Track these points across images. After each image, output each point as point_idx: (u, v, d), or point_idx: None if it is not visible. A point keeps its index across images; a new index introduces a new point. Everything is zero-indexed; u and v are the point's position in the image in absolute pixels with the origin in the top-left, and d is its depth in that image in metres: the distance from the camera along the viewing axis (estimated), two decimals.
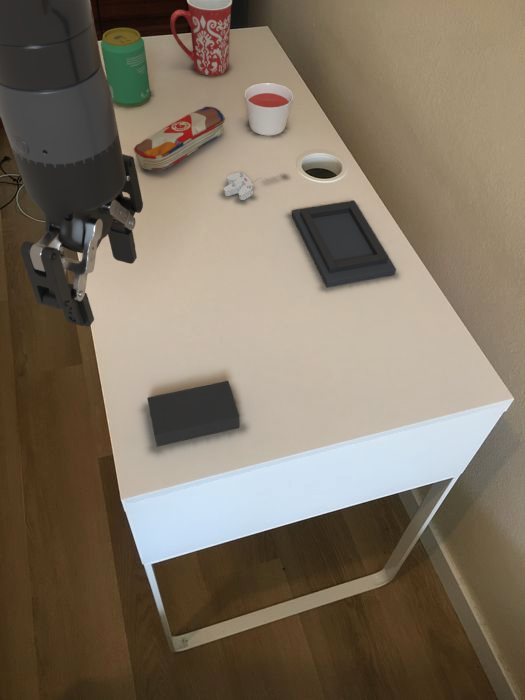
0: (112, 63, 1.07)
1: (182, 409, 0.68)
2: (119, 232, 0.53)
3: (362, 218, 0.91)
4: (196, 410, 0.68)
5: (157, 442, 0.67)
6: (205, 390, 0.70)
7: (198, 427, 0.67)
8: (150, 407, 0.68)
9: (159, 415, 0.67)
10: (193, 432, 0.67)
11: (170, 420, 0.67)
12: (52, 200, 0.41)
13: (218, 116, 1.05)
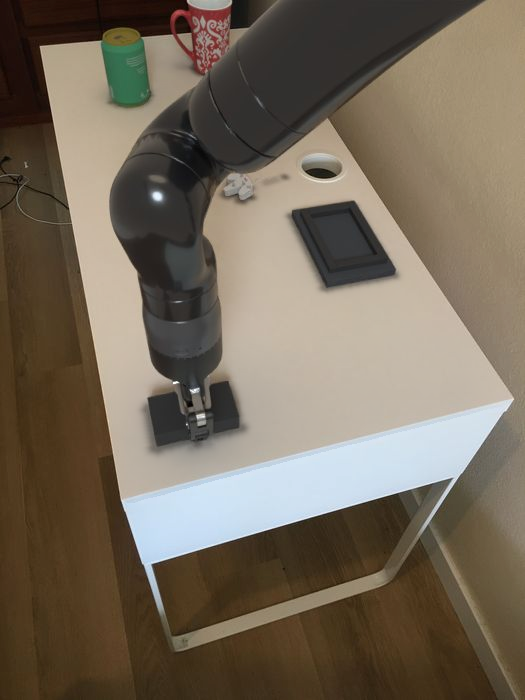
0: (112, 63, 1.07)
1: None
2: None
3: (362, 218, 0.91)
4: None
5: (157, 442, 0.67)
6: None
7: None
8: (150, 407, 0.68)
9: (159, 415, 0.67)
10: None
11: (170, 420, 0.67)
12: (197, 374, 0.57)
13: None
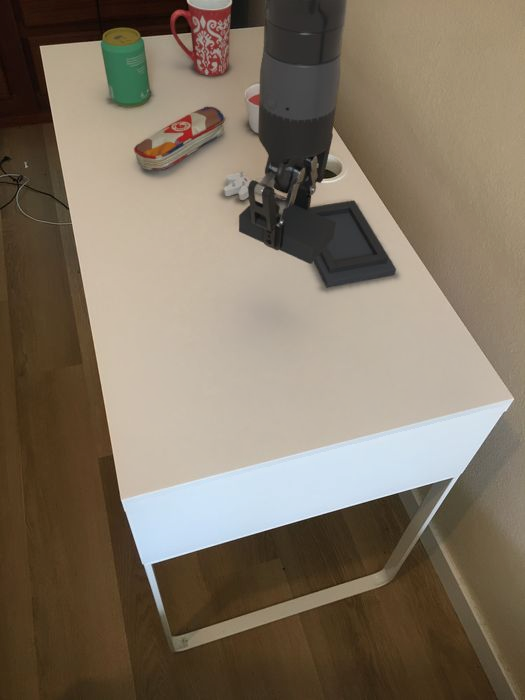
0: (112, 63, 1.07)
1: None
2: (301, 195, 0.67)
3: (362, 218, 0.91)
4: (287, 221, 0.67)
5: (239, 226, 0.68)
6: (310, 216, 0.67)
7: None
8: None
9: None
10: None
11: None
12: (279, 146, 0.56)
13: (218, 116, 1.05)
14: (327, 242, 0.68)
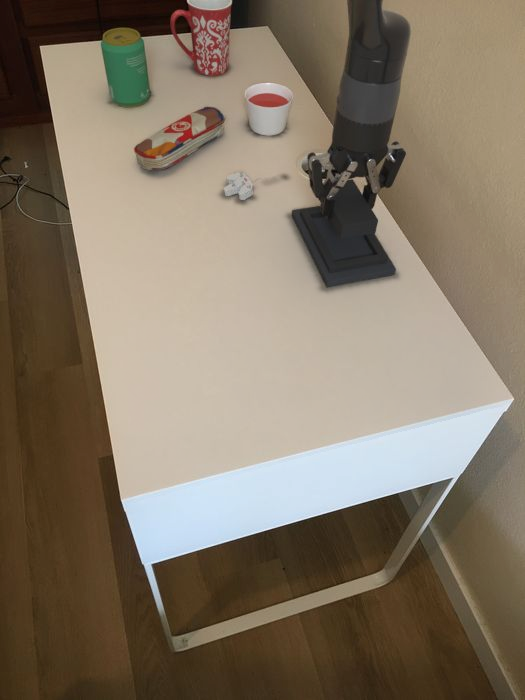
0: (112, 63, 1.07)
1: (345, 196, 0.85)
2: (367, 190, 0.83)
3: None
4: (345, 203, 0.84)
5: None
6: (365, 207, 0.83)
7: None
8: None
9: None
10: None
11: None
12: (336, 135, 0.74)
13: (218, 116, 1.05)
14: (366, 232, 0.83)
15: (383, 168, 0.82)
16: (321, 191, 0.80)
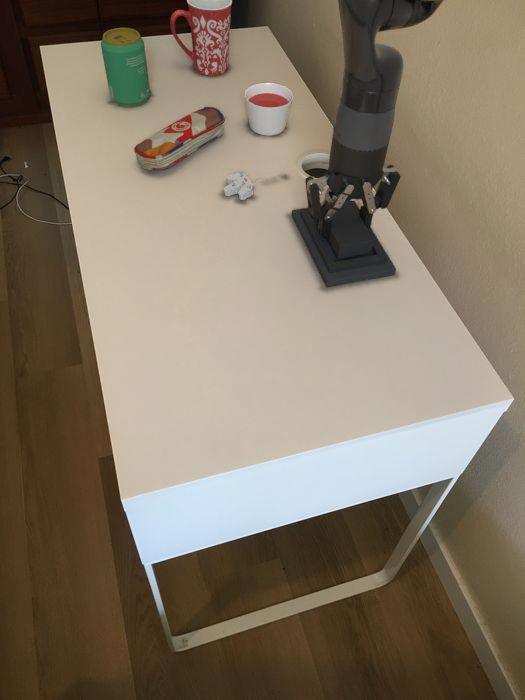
0: (112, 63, 1.07)
1: (342, 216, 0.88)
2: (364, 211, 0.86)
3: None
4: (342, 223, 0.87)
5: None
6: (361, 228, 0.86)
7: None
8: None
9: None
10: None
11: None
12: (333, 160, 0.77)
13: (218, 116, 1.05)
14: (363, 252, 0.86)
15: (379, 190, 0.85)
16: (319, 213, 0.83)
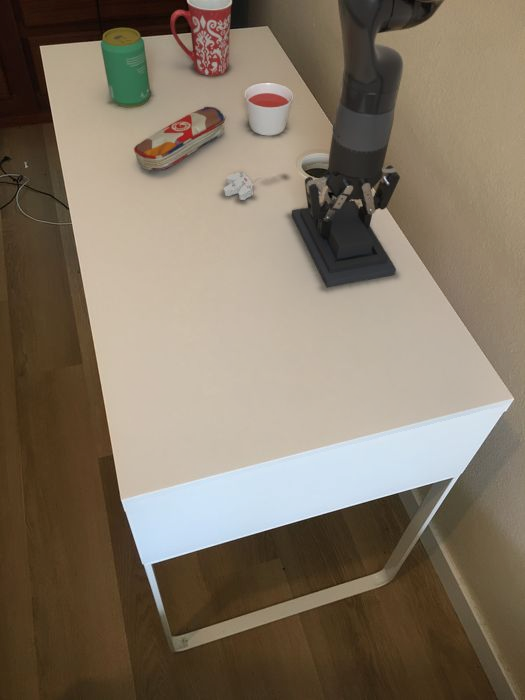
0: (112, 63, 1.07)
1: (341, 216, 0.88)
2: (363, 211, 0.86)
3: None
4: (341, 223, 0.87)
5: None
6: (361, 228, 0.86)
7: None
8: None
9: None
10: None
11: None
12: (332, 161, 0.77)
13: (218, 116, 1.05)
14: (362, 252, 0.86)
15: (378, 190, 0.85)
16: (318, 213, 0.83)
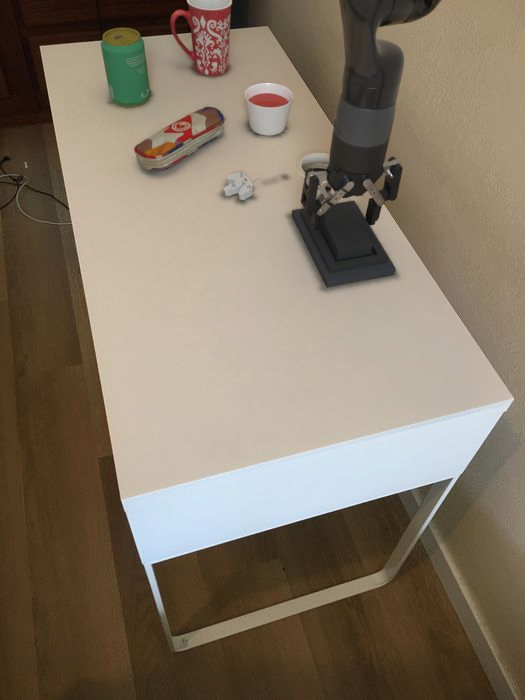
0: (112, 63, 1.07)
1: (341, 220, 0.88)
2: (372, 203, 0.86)
3: (362, 218, 0.91)
4: (341, 227, 0.87)
5: None
6: (360, 232, 0.87)
7: (327, 230, 0.87)
8: (340, 205, 0.91)
9: (333, 209, 0.90)
10: (324, 231, 0.88)
11: (330, 215, 0.89)
12: (333, 157, 0.77)
13: (218, 116, 1.05)
14: (361, 256, 0.87)
15: (385, 182, 0.84)
16: (311, 207, 0.81)
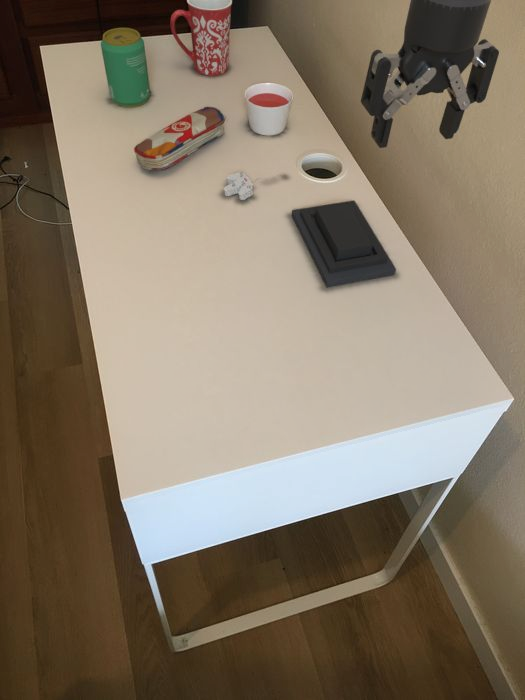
0: (112, 63, 1.07)
1: (341, 220, 0.88)
2: (452, 107, 0.66)
3: (362, 218, 0.91)
4: (341, 227, 0.87)
5: (315, 216, 0.91)
6: (360, 232, 0.87)
7: (327, 230, 0.87)
8: (340, 205, 0.91)
9: (333, 209, 0.90)
10: (324, 231, 0.88)
11: (330, 215, 0.89)
12: (411, 29, 0.57)
13: (218, 116, 1.05)
14: (361, 256, 0.87)
15: (471, 78, 0.65)
16: (377, 106, 0.62)
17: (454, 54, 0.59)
